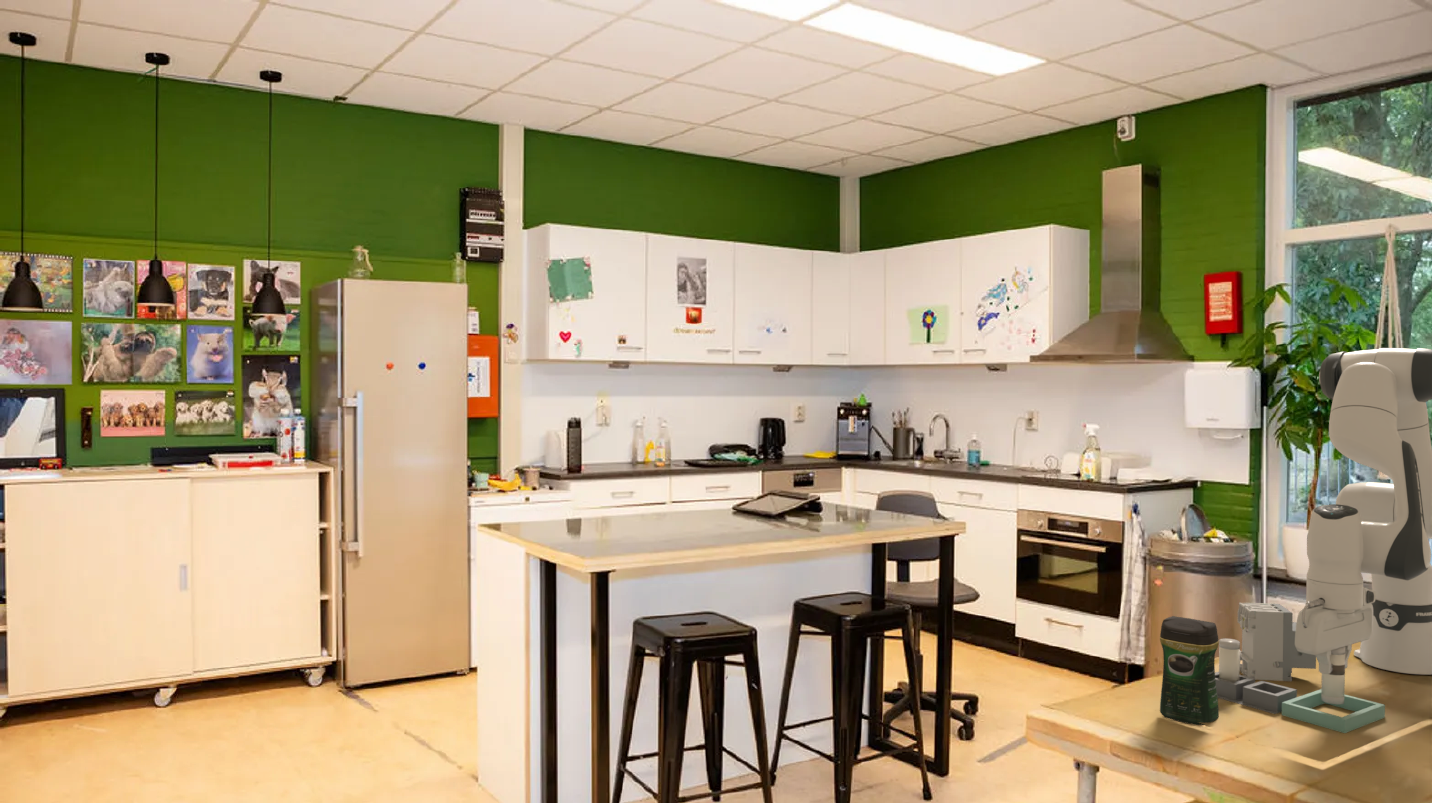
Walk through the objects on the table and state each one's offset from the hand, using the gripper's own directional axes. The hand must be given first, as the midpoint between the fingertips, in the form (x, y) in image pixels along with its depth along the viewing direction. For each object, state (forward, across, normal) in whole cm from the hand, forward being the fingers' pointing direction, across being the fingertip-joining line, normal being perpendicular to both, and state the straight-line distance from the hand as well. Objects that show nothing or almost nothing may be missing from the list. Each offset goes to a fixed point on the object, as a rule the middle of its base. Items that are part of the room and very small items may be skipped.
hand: (1333, 670), depth 186 cm
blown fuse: (+6, 0, 0) cm, 6 cm away
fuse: (+8, -3, +18) cm, 20 cm away
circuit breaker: (+10, +16, +18) cm, 26 cm away
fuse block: (+9, -3, +14) cm, 17 cm away
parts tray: (+9, 0, 0) cm, 9 cm away
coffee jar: (+10, -20, +16) cm, 27 cm away
